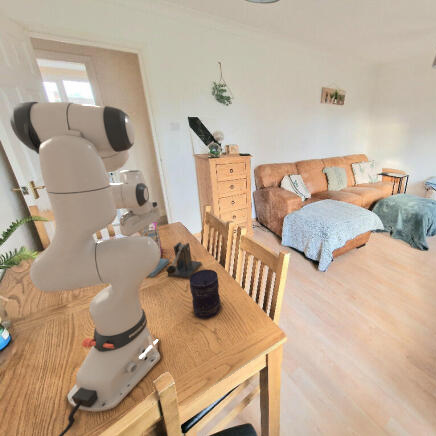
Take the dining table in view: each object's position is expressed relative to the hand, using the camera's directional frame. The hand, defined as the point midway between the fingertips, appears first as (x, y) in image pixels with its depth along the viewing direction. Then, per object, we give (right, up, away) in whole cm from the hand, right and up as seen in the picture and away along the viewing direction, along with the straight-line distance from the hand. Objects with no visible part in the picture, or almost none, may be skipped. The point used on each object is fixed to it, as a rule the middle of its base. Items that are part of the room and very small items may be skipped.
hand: (144, 235), depth 108 cm
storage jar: (+34, -27, -16) cm, 47 cm away
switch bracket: (+15, -17, +7) cm, 24 cm away
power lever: (+15, -11, 0) cm, 19 cm away
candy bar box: (-5, -11, +18) cm, 22 cm away
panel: (-1, -16, +7) cm, 18 cm away
